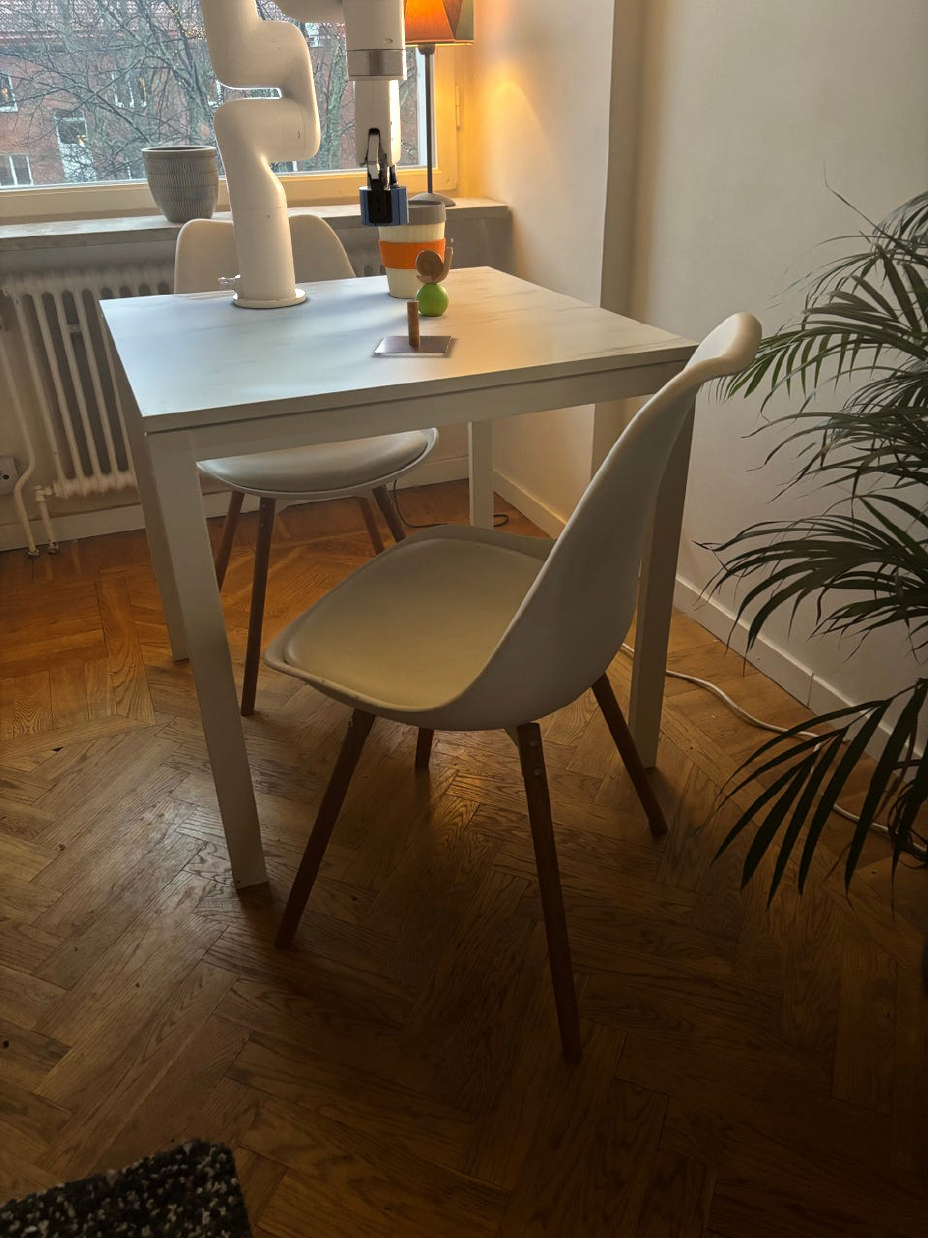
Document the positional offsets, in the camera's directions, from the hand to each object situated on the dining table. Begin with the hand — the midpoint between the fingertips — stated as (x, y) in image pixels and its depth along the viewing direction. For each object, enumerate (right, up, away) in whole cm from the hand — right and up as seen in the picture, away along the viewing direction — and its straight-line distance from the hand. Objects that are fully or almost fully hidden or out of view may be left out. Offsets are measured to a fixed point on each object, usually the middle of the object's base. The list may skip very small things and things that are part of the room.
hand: (384, 218), depth 128 cm
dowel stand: (+4, -16, +8) cm, 18 cm away
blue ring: (0, -1, 0) cm, 1 cm away
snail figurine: (+6, -6, +25) cm, 26 cm away
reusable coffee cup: (+2, +4, +43) cm, 43 cm away
